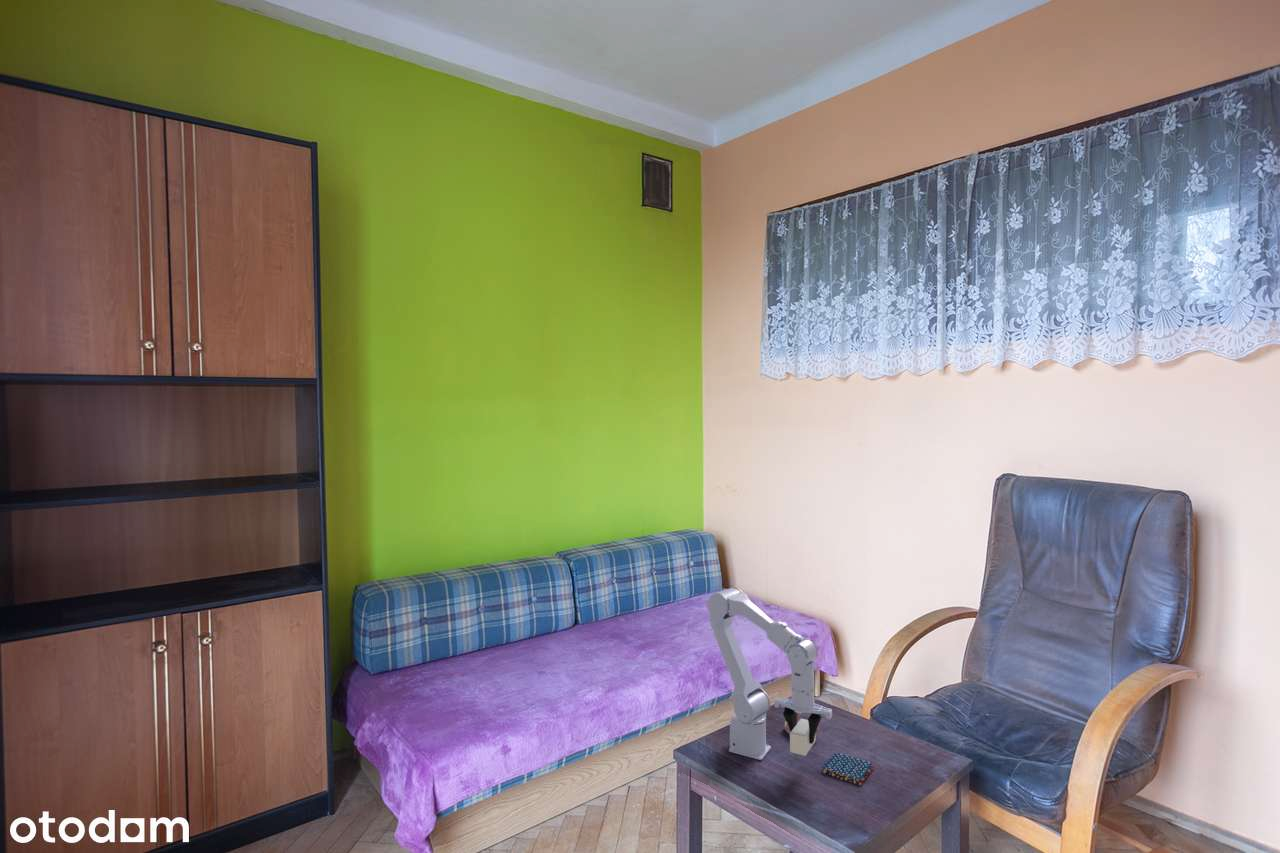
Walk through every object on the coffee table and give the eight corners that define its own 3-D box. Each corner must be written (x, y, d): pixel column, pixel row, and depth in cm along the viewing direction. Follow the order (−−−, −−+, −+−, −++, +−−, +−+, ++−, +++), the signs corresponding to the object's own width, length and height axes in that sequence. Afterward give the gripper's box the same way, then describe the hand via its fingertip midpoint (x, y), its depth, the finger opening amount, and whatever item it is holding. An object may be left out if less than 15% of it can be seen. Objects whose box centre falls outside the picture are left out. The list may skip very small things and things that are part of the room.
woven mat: (861, 788, 165) (861, 780, 165) (820, 774, 172) (820, 766, 171) (875, 770, 173) (875, 762, 173) (835, 757, 180) (835, 750, 180)
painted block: (790, 751, 169) (789, 732, 169) (800, 736, 177) (800, 717, 177) (805, 755, 167) (805, 735, 167) (815, 740, 175) (815, 721, 175)
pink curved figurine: (798, 724, 197) (778, 729, 194) (798, 710, 197) (779, 714, 194) (820, 742, 188) (800, 748, 186) (821, 727, 188) (801, 732, 185)
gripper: (770, 687, 172) (770, 739, 172) (826, 699, 165) (826, 753, 165) (779, 678, 178) (779, 728, 179) (834, 689, 171) (834, 741, 171)
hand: (803, 739), depth 172 cm, fingers closed on painted block, 4 cm apart
